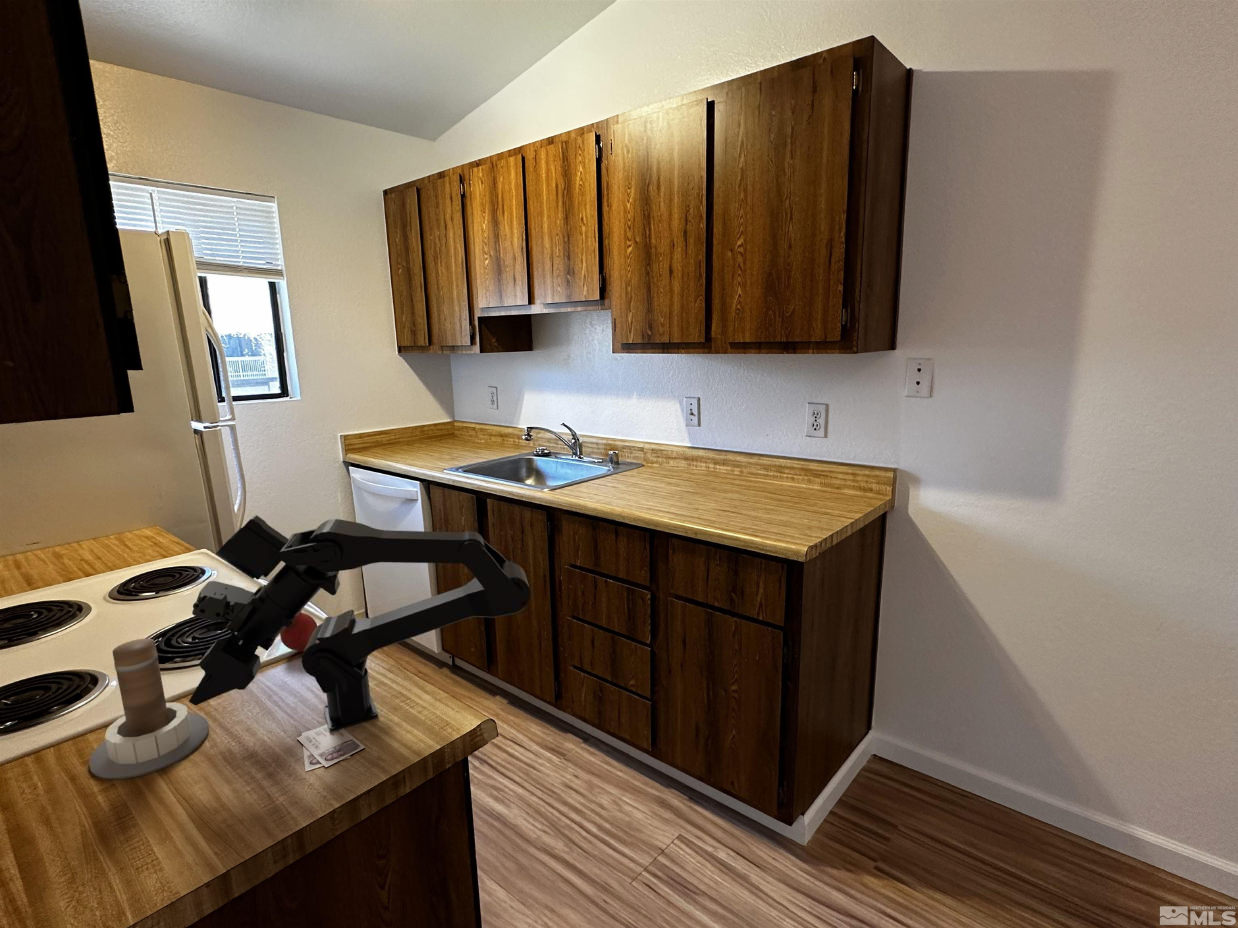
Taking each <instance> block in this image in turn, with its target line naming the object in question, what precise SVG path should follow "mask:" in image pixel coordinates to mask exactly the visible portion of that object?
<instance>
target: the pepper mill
mask: <svg viewBox="0 0 1238 928" xmlns="http://www.w3.org/2000/svg"><path fill="white" fill-rule="evenodd" d="M112 657H113V658H112V659H113V662H114V664H113V665H114V670H115V672H116V677H117V683H118V686H119V687H118V688H119V692H120V697H121V702H122V707H123V713H124V716H125V718H126V723H127V728H128V733H129V737H139V736H142V735H146V734H149V733H153V732H155V731H157V730H159V729H161V728H163V727H165V726H167V725H168V724H169V718H168V712H167V707H166V703H167V701H166V697H165V696H166V695H165V691H164V685H163V680H162V674H161V669H160V664H159V656H158V651H157V646H156V642H155V640H154V639H152V638H137V639H133V640H130V641H127V642H124V643H122V644H119V645H117V646H116V647H115V648H114V649H113V650H112Z"/></svg>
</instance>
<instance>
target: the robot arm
mask: <svg viewBox="0 0 1238 928" xmlns="http://www.w3.org/2000/svg"><path fill="white" fill-rule="evenodd" d="M215 556H217V558H219V559H221V560H222V561H224V562H225V563H227V564H229V565H230V566H232V567H234V568H235V569H236V570H238V571H239V572H241V573H243V575H246V576H247V577H248V578H250V579H252V580H254V579H256V580H257V581H259V580H260V578H261V577H263V578H267V577H268V576H270V574H271V573H272V572H273V571H274V570H275V569H276V567H277V566H279V564H280V563H282V562H283V563H284V565H283V566H282V567H281V568H280V569H279V570H278V571H277V572H276V573H275V574H274V576H273V577H272V578H271V579H270V580H269V581H268V582H267V583H266V584H264V585H263V586H262V585H260V586H259V587H258V588H257V589H256V590H255V591H251V590H247V589H246V588H243V587H241V586H237V585H233V584H228V583H225V582H221V581H218V580H217V581H216V580H210V581H207V582H206V584H205V585H204V586H203V587H202V588H201V589H200V591H199V593H198V596H197V598H196V601H195V602H194V603H193V604H192V608H193V609H192V611H191V613H192V615H193V616H194V617H196V618H200V619H204V620H207V621H212V622H223V623H228V624H227V625H226V627H225V629H226V630H228V631H229V632H231V634H230V635H229V637H227V638H220V639H219V638H218V639H217V640H216V641H215V642H214V643H213V644H212V645H211V647H210V648H209V649H208V650H207V651H206V653H205V654H204V655H203V656H202V658H201V659H200V662H198V665H199V667H200V668H201V669H202V670H203V672H204V675H203V676H202V678H201V680H200V681H199V683H198V685H197V686H196V688H195V690H194V691H193V692H192V694H191V697H190V698H189V700H188V702H189V704H192V705H193V706H198V705H201V704H203V703H205V702H207V701H211V700H212V699H214V698H216V697H219V696H221V695H223V694H226V693H229V692H231V691H234V690H239V691H243V690H245V689H246V688H248V687H249V685H250V684H251V683H252V682H253V680H254V679H255V678H256V676H257V674H258V672H259V671H260V669H261V666H262V663H261V657H260V655H258V654H257V653H256V651H257V650H258V649H259V648H261V649H263V650H265V651H266V652H267V651H269V650H270V649H271V647H272V646H273V644H274V643H275V641H276V639H277V638H278V636H279V635H280V633H281V632H282V631H283V630H284V628H285V627H287V628H289V626H290V625H291V624H292V623H293V622H294V620H295V617H296V615H297V614H298V613H299V612H300V611H301V610H303V609H304V607H306V606H307V604H308V603H309V602H310V601H311V600H312V599H313V598H314V596H316V595H317V593H318V592H319V591H320V590H321V589H322V590H323V591H325V592H326V593H328V594H329V595H331V596H335V595H336V594H337V593H338V590H339V588H340V585H341V583H340V578H339V575H340V574H339V573H340V572H342V571H350V570H356V569H358V568H363V567H365V566H368V565H372V564H379V563H401V564H403V563H405V564H410V563H411V564H463V565H464V566H465V567H466V568H467V569H468V570H469V571H470V573H472V575H473V576H474V578H473V579H471V580H470V581H469V582H468V583H466V584H465V585H463V586H460V587H457V588H455V589H452V590H448V591H446V592H443V593H440V594H437V595H434V596H431V597H429V598H426V599H422V600H420V601H419V600H418V601H417V602H414V603H411V604H407V605H404V606H402V607H399V608H396V609H393V610H391V611H390V610H389V611H387V612H384V613H382V614H378V615H376V616H373V617H372V616H371V617H368V618H367V617H364V618H363V617H356V616H355V611H354V609H350V610H347V611H345V612H342V613H341V614H339V615H335V616H326V617H324V620H323V622H322V623H320V624H317V627H316V628H315V630H314V631H313V633H312V635H311V637H310V639H309V641H308V644H307V646H306V648H305V650H304V651H303V653H302V655H301V661H300V662H301V665H302V669H303V670H304V671H305V673H307V674H308V675H309V676H310V677H312V678H314V680H315V681H316V683H317V684H318V686H319V688H320V689H321V691H322V693H323V694H325V695H326V702H327V704H325V705H324V706H323V707H322V709H323V712H324V716H325V720H326V724H327V728H328V730H329V731H330V732H333V731H337V730H340V729H343V728H347V727H350V726H353V725H357V724H360V723H362V722H365V721H369V720H372V719H375V718H377V717H378V716H379V713H378V710H377V707H376V705H375V703H374V701H373V698H372V695H371V689H370V682H369V681H370V680H369V672H368V671H369V670H368V668H367V667H366V665H367V661H368V658H369V656H370V655H372V653H374V652H376V651H378V650H382V649H383V648H386V647H389V646H392V645H395V644H397V643H400V642H404V641H407V640H409V639H412V638H415V637H418V636H421V635H424V634H426V633H430V632H432V631H435V630H438V629H441V628H444V627H446V626H450V625H451V624H454V623H458V622H461V621H463V620H467V619H469V618H475V617H479V618H498V617H504V616H509V615H514V614H518V613H520V612H522V611H523V610H524V609H526V607H527V605H528V603H529V602H530V600H531V588H530V585H529V582H528V578H527V574H526V573H525V570H524V568H522V566H520V565H519V564H518V563H515V562H513V561H509V560H507V559H506V558H505V557H504V556H503V555H502V554H501V553H500V552H499V551H498V550H497V549H495V548H494V547H493V546H492V545H490V544H489V543H488V542H487V541H486V540H485V539H484V538H483V536H482V535H481V534H480V533H478V532H476V531H473V530H467V531H463V532H462V531H461V532H460V531H459V532H458V531H455V532H454V531H425V530H424V531H423V530H419V531H417V530H388V529H387V530H385V529H380V528H376V527H372V526H369V525H367V524H363V523H361V522H356V521H351V520H346V519H342V518H341V519H339V518H333V519H328V520H325V521H323V522H322V523H320V525H318V526H317V527H316V528H313V529H308V530H304V531H298V532H295V533H292V534H291V535H290V537H289V538H288V537H287V536H285V535H284V534H282V533H281V532H279V531H278V530H276V529H275V528H273V527H272V526H271V525H269V524H268V523H267V521H266V520H264V519H263V518H261V517H260V516H258V515H257V514H255V515H253V516H252V517H251V518H249V520H248V521H247V522H246V523H245V525H243V526H242V527H240V528H239V529H238V530H237V531H236V532H235V533H234V534H233V535H232V536H230V538H229V539H228V540H227V541H225V542H224V544H223V545H222V546H221V547H220V548H219V549H218V551H217V552H216V553H215ZM301 612H302V611H301Z"/></svg>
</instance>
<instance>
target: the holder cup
mask: <svg viewBox="0 0 1238 928" xmlns="http://www.w3.org/2000/svg"><path fill="white" fill-rule="evenodd" d="M166 707H167V712H168V718H169V724H168V725H167V726H165V727H163V728H161V729H159V730H157V731H155V732H153V733H149V734H146V735H142V736H139V737H129V733H128V728H127V723H126V718H125V715H122V716H121V717H119V718H117V720H115V721H114V722H113V723H112V724H110V725H109V726H108V727H107V729H106V732H105V735H104V741H102V742H101V743H100V744H98V746H97V747H96V748H95V749H94V750H93V752H92V754H91V755H90V757H89V761H88V764H89V765H88V766H89V769H90V770H89V771H90V772H91V774H92V775H94V776H95V777H98V778H99V779H100V778H101V779H104V780H105V779H106V780H124V779H125V780H126V779H133V778H136V777H141V776H144V775H147V774H150V773H154V772H157V771H159V770H162V769H165V768H166V767H169V766H171V765H173V764H174V763H177V762H179V761H181V760H182V759H184V758H185V757H187V756H189V755H190V754H191V753H193V752H194V751H196V750H197V748H199V747H200V746H201V745H202V744H203V742H204V741H205V740H206V739H207V737H208V734H209V731H210V727H209V722H208V720H207V719H206V717H204V716H202V714H201V715H200V714H198V713H193V712H189V710H188V709H189V708H188V707H187V706H186V705H185V704H183V703H180V702H175V701H174V702H166Z"/></svg>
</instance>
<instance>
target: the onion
mask: <svg viewBox="0 0 1238 928" xmlns="http://www.w3.org/2000/svg"><path fill="white" fill-rule="evenodd" d="M302 610H303V609H302ZM302 610H301V611H300V612H299V613H298V614H297V615H296V617H295V620H294V622H293V623H292V624H291V625H290V626H289V628H287V627H285V628H284V630H283V631H282V632H281V633H280V634H279V635H280V637H279V638H280V641H281V643H282V644H283V645H284V646H285V647H286V648H288V649H290V650H291V651H295V652H299V653H301V652H304V650H305V648H306V646H307V644H308V641H309V639H310V637H311V635H312V633H313V631H314V630H315V628H316V627H317V626H318V624H317V622H316V620H315V618H314V617H312V616H311V615H310V614H307V613H305V612H302Z"/></svg>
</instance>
